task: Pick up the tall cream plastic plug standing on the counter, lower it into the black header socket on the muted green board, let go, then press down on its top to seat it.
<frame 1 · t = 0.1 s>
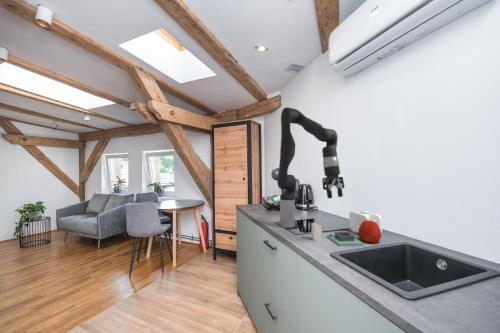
hand: (335, 197, 113), 22 cm above the worktop, tool pointing down, fingers open, 8 cm apart
plug: (316, 239, 116), on the worktop
apple: (369, 241, 113), on the worktop
cable organizer: (365, 233, 127), on the worktop
board: (344, 240, 113), on the worktop
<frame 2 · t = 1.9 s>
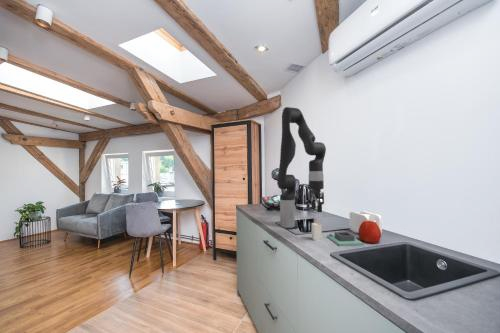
hand: (316, 210, 117), 15 cm above the worktop, tool pointing down, fingers open, 8 cm apart
nothing on the worktop moved.
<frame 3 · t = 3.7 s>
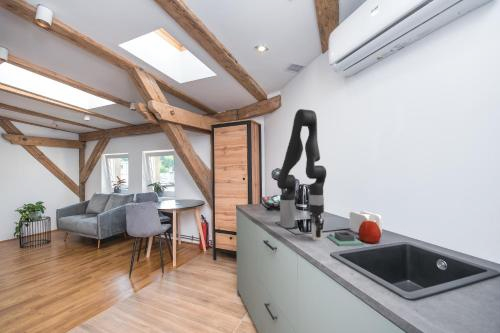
hand: (316, 235, 116), 2 cm above the worktop, tool pointing down, fingers closed on plug, 4 cm apart
plug: (316, 239, 116), on the worktop, touching gripper
everything else where it was.
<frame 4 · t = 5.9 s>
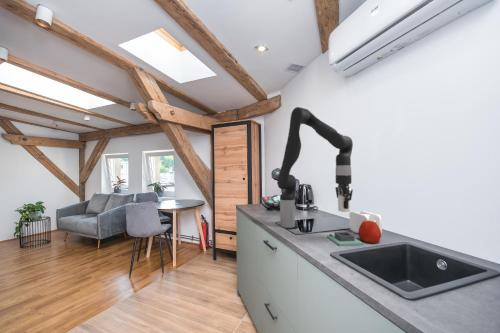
hand: (343, 207, 113), 17 cm above the worktop, tool pointing down, fingers closed on plug, 4 cm apart
plug: (343, 211, 113), point 15 cm above the worktop, touching gripper
everything else where it was.
when the fingers open (4 cm above the worktop, at t = 8.1 s): plug stays where it is, resting on board.
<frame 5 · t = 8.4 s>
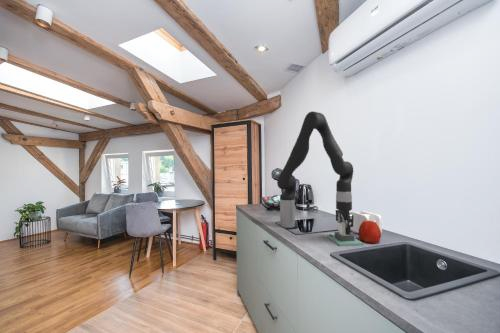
hand: (344, 232, 113), 4 cm above the worktop, tool pointing down, fingers open, 7 cm apart
plug: (344, 238, 114), point 1 cm above the worktop, touching board
everything else where it was.
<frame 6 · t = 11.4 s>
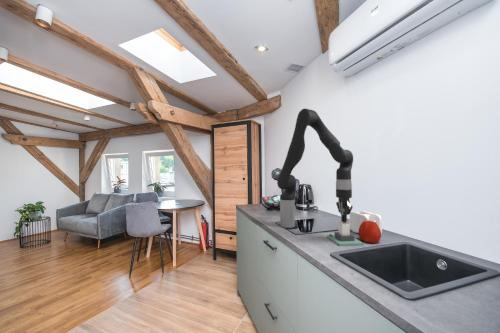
hand: (344, 222, 113), 10 cm above the worktop, tool pointing down, fingers closed
nothing on the worktop moved.
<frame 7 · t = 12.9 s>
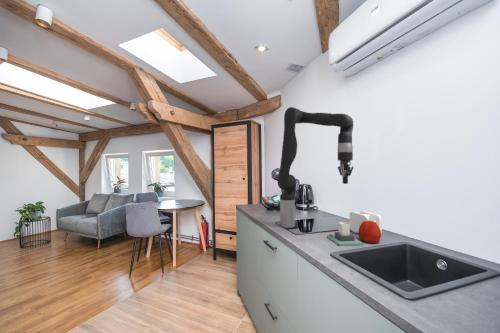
hand: (345, 183, 120), 29 cm above the worktop, tool pointing down, fingers closed
nothing on the worktop moved.
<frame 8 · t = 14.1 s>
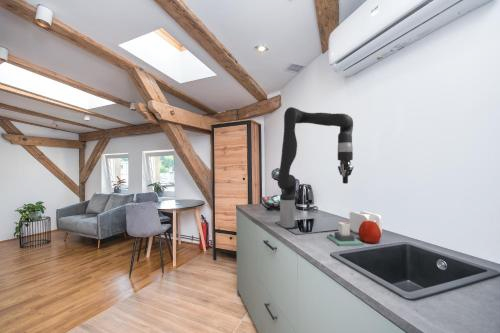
hand: (345, 183, 120), 29 cm above the worktop, tool pointing down, fingers closed
nothing on the worktop moved.
at the end: plug 0.1 cm off-centre on the board, point 1.0 cm above the board's base; plug tilted 0°; the gripper is holding nothing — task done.
